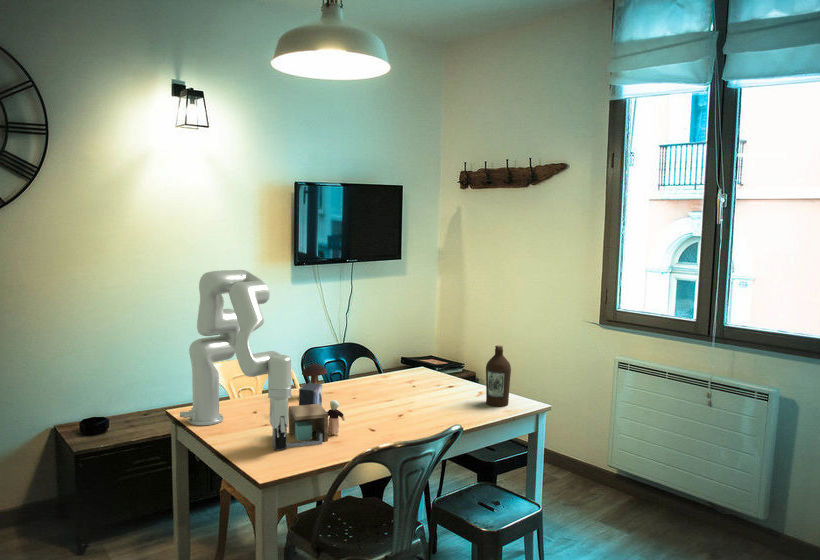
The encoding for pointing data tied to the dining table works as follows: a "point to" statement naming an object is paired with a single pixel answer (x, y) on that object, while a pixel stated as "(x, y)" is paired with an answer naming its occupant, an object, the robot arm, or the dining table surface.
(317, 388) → the small box
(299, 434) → the block
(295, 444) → the grey long piece
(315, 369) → the decorative mushroom
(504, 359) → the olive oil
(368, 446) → the dining table surface
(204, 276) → the robot arm
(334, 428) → the grandmother figurine
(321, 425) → the cubby
